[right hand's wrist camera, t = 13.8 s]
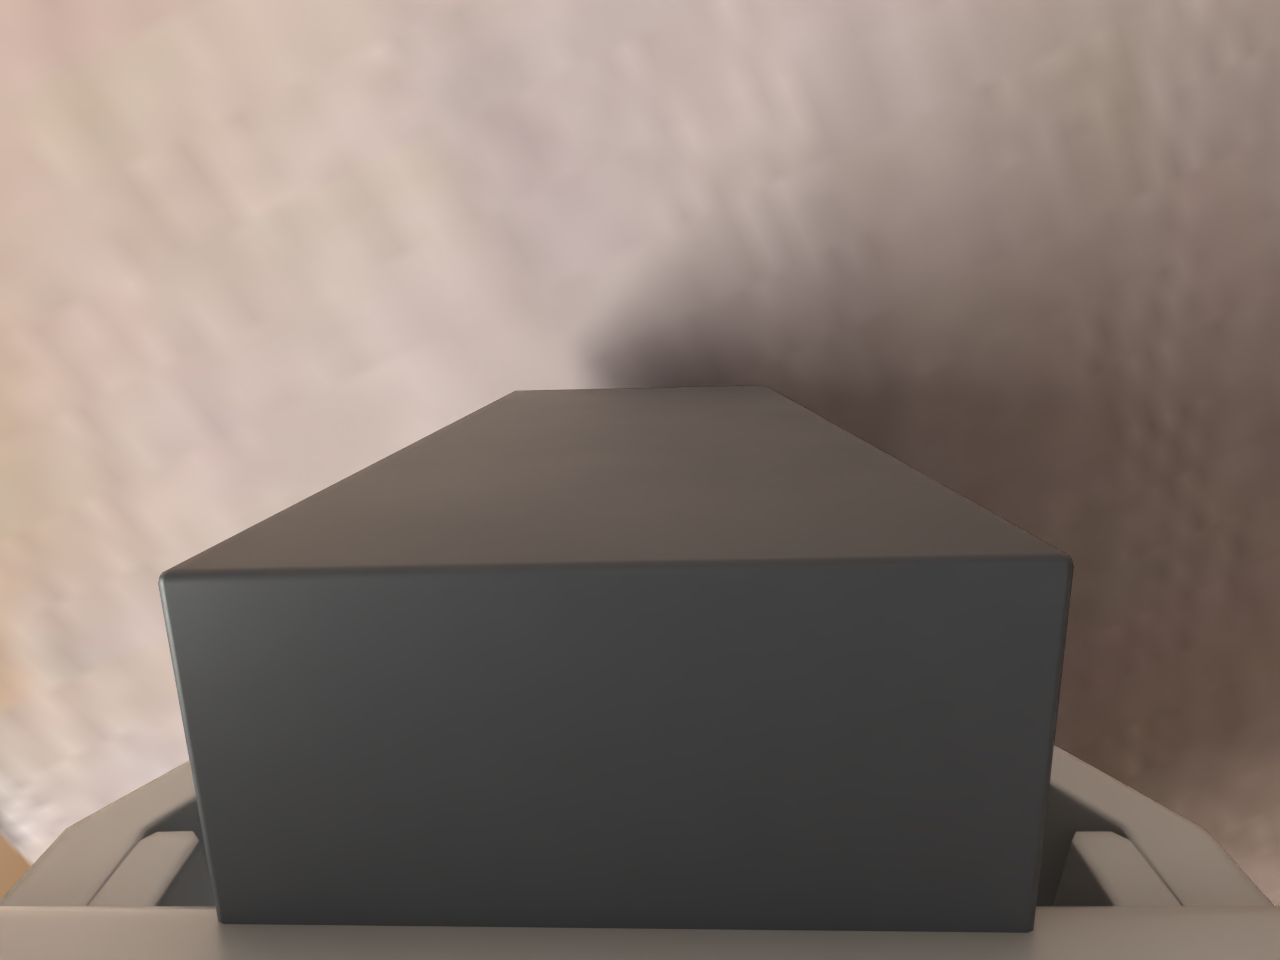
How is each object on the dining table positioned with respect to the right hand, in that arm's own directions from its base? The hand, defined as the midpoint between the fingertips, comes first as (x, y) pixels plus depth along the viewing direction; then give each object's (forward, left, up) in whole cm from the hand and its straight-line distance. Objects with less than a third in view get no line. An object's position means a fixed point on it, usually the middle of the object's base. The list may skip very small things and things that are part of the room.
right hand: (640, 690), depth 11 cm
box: (+7, -5, -6) cm, 10 cm away
